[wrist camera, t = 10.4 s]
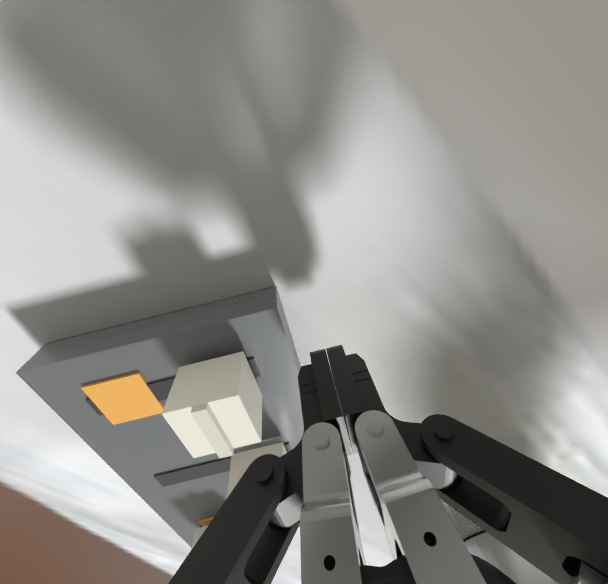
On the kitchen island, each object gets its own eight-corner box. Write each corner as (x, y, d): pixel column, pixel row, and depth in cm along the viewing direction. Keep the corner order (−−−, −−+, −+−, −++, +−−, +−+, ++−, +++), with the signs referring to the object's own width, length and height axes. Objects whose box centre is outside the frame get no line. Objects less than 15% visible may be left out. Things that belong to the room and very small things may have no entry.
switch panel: (276, 286, 14) (277, 309, 13) (338, 488, 24) (344, 518, 22) (45, 343, 15) (13, 374, 13) (200, 521, 24) (195, 554, 23)
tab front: (243, 351, 13) (237, 401, 11) (262, 395, 15) (261, 448, 12) (179, 367, 13) (159, 420, 11) (204, 409, 15) (192, 465, 12)
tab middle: (282, 442, 16) (284, 495, 14) (294, 470, 18) (298, 523, 16) (231, 454, 17) (225, 510, 14) (247, 481, 18) (244, 536, 16)
